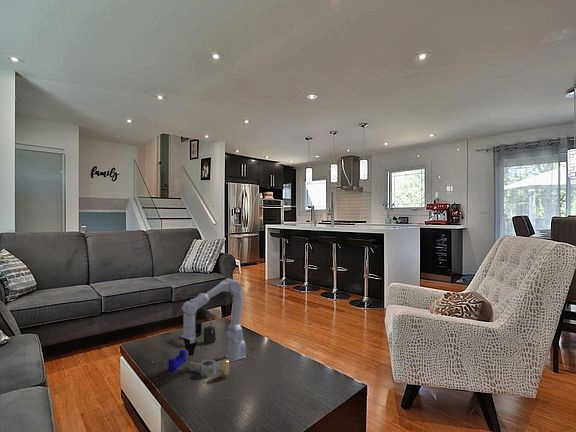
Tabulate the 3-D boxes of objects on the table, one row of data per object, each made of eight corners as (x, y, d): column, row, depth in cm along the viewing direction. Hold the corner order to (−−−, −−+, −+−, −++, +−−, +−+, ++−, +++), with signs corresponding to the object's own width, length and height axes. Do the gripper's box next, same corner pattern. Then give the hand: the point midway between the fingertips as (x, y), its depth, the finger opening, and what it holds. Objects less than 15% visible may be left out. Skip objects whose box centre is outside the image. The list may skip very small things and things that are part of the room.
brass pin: (227, 373, 155) (227, 358, 155) (230, 377, 152) (230, 361, 152) (219, 376, 153) (219, 360, 153) (222, 379, 149) (222, 363, 149)
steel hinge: (222, 361, 168) (222, 352, 168) (230, 370, 158) (230, 361, 158) (189, 369, 159) (189, 360, 159) (196, 380, 149) (196, 370, 149)
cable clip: (178, 360, 170) (178, 349, 170) (185, 361, 169) (185, 350, 169) (165, 371, 158) (165, 359, 158) (173, 372, 157) (173, 360, 157)
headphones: (189, 335, 205) (189, 305, 205) (197, 333, 209) (197, 303, 209) (208, 345, 190) (208, 312, 190) (216, 342, 194) (216, 310, 195)
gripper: (178, 322, 162) (178, 348, 162) (183, 331, 149) (184, 359, 149) (192, 320, 165) (192, 345, 165) (198, 329, 152) (198, 356, 152)
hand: (189, 352), depth 157 cm, fingers open, 7 cm apart
